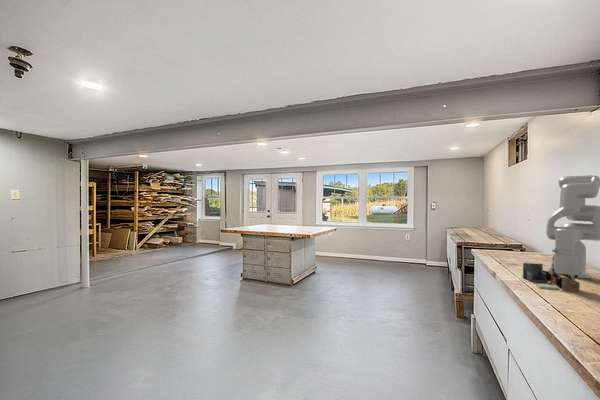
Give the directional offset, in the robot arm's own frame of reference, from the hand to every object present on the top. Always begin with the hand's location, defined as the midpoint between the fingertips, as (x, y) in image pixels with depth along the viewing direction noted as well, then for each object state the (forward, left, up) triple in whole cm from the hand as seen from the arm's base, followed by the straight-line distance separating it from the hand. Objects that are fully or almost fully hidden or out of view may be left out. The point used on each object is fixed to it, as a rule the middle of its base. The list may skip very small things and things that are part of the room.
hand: (564, 286), depth 149 cm
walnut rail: (0, 0, -1) cm, 1 cm away
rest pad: (+4, -9, 0) cm, 10 cm away
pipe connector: (-16, +3, -1) cm, 16 cm away
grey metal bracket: (-10, -9, 0) cm, 13 cm away
